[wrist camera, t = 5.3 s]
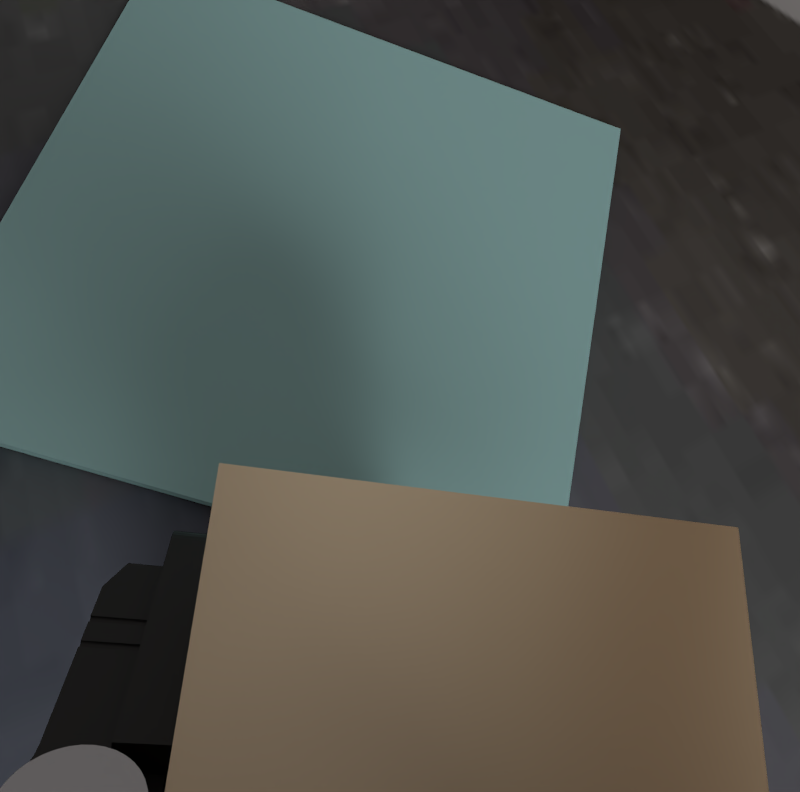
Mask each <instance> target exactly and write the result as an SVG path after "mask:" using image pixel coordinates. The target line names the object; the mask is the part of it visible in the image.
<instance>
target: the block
mask: <svg viewBox="0 0 800 792" xmlns="http://www.w3.org/2000/svg"><path fill="white" fill-rule="evenodd" d="M165 792H769V789H768V781H767V772H766V763H765V755H764V746H763V737H762V729H761V720H760V711H759V703H758V694H757V686H756V677H755V668H754V660H753V651H752V642H751V634H750V625H749V616H748V608H747V599H746V591H745V582H744V573H743V565H742V556H741V547H740V539H739V530H738V528H737V527H729V526H721V525H713V524H705V523H697V522H689V521H681V520H673V519H665V518H657V517H649V516H641V515H633V514H625V513H617V512H609V511H601V510H593V509H585V508H577V507H569V506H561V505H553V504H545V503H537V502H529V501H521V500H513V499H505V498H497V497H489V496H481V495H473V494H465V493H457V492H449V491H441V490H433V489H425V488H417V487H409V486H401V485H393V484H385V483H376V482H368V481H360V480H352V479H344V478H336V477H328V476H320V475H312V474H304V473H296V472H288V471H280V470H272V469H264V468H256V467H248V466H240V465H232V464H224V463H219V467H218V473H217V479H216V485H215V491H214V497H213V503H212V509H211V515H210V521H209V527H208V533H207V539H206V545H205V551H204V557H203V563H202V569H201V575H200V581H199V587H198V593H197V599H196V605H195V611H194V617H193V623H192V629H191V635H190V641H189V647H188V653H187V659H186V666H185V672H184V678H183V684H182V690H181V696H180V702H179V708H178V714H177V720H176V726H175V732H174V738H173V744H172V750H171V756H170V762H169V768H168V774H167V780H166V786H165Z"/></svg>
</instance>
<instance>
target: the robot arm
mask: <svg viewBox="0 0 800 792" xmlns="http://www.w3.org/2000/svg"><path fill="white" fill-rule="evenodd" d="M206 539H207V534H200V533H190V532H180V531H174V532H173V534H172V537H171V541H170V544H169V548H168V551H167V555H166V558H165V561H164V565H163V566H153V565H142V564H131V563H128V564H127V565H126V566H125V567H124V568H122V569H121V570H120V571H119V572H118V573H117V574H116V575H115V576H114V577H112V578H111V579H110V580H109V581H108V582H107V583H106V584H105V585H104V586H102V589H101V591H100V594H99V597H98V599H97V602H96V604H95V607H94V609H93V612H92V614H91V618H90V622H88V624H87V627H86V629H85V632H84V634H83V637H82V639H81V644H80V647H78V649H77V652H76V654H75V657H74V659H73V662H72V664H71V667H70V669H69V672H68V674H67V677H66V679H65V682H64V684H63V687H62V689H61V692H60V694H59V697H58V699H57V702H56V704H55V707H54V709H53V712H52V714H51V717H50V719H49V722H48V724H47V727H46V729H45V732H44V734H43V737H42V739H41V742H40V744H39V746H38V748H37V750H36V752H35V754H34V756H33V757H32V759H31V760H30V762H28V763H27V764H25V765H24V766H23V767H21V768H20V769H18V770H17V771H16V772H15V773H14V774H13V775H12V776H11V777H10V778H9V779H8V780H7V781H6V782H5V783H4V785H3V786H2V787H1V788H0V792H165V786H166V780H167V774H168V768H169V762H170V756H171V750H172V744H173V738H174V732H175V726H176V720H177V714H178V708H179V702H180V696H181V690H182V684H183V678H184V672H185V666H186V659H187V653H188V647H189V641H190V635H191V629H192V623H193V617H194V611H195V605H196V599H197V593H198V587H199V581H200V575H201V569H202V563H203V557H204V551H205V545H206Z"/></svg>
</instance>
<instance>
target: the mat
mask: <svg viewBox="0 0 800 792" xmlns="http://www.w3.org/2000/svg"><path fill="white" fill-rule="evenodd" d="M620 130H621V129H619V128H616V127H614V126H611V125H608V124H606V123H603V122H600V121H598V120H595V119H592V118H590V117H587V116H584V115H582V114H579V113H576V112H574V111H571V110H568V109H566V108H563V107H560V106H558V105H555V104H552V103H549V102H547V101H544V100H541V99H539V98H536V97H533V96H531V95H528V94H525V93H523V92H520V91H517V90H515V89H512V88H509V87H507V86H504V85H501V84H499V83H496V82H493V81H490V80H488V79H485V78H482V77H480V76H477V75H474V74H472V73H469V72H466V71H464V70H461V69H458V68H456V67H453V66H450V65H448V64H445V63H442V62H440V61H437V60H434V59H432V58H429V57H426V56H423V55H421V54H418V53H415V52H413V51H410V50H407V49H405V48H402V47H399V46H397V45H394V44H391V43H389V42H386V41H383V40H381V39H378V38H375V37H373V36H370V35H367V34H364V33H362V32H359V31H356V30H354V29H351V28H348V27H346V26H343V25H340V24H338V23H335V22H332V21H330V20H327V19H324V18H322V17H319V16H316V15H314V14H311V13H308V12H306V11H303V10H300V9H297V8H295V7H292V6H289V5H287V4H284V3H281V2H279V1H276V0H129V1H128V3H127V5H126V7H125V8H124V10H123V12H122V14H121V15H120V17H119V19H118V20H117V22H116V24H115V26H114V27H113V29H112V31H111V33H110V34H109V36H108V38H107V39H106V41H105V43H104V45H103V46H102V48H101V50H100V52H99V53H98V55H97V57H96V58H95V60H94V62H93V64H92V65H91V67H90V69H89V70H88V72H87V74H86V76H85V77H84V79H83V81H82V83H81V84H80V86H79V88H78V89H77V91H76V93H75V95H74V96H73V98H72V100H71V102H70V103H69V105H68V107H67V108H66V110H65V112H64V114H63V115H62V117H61V119H60V120H59V122H58V124H57V126H56V127H55V129H54V131H53V133H52V134H51V136H50V138H49V139H48V141H47V143H46V145H45V146H44V148H43V150H42V152H41V153H40V155H39V157H38V158H37V160H36V162H35V164H34V165H33V167H32V169H31V171H30V172H29V174H28V176H27V177H26V179H25V181H24V183H23V184H22V186H21V188H20V189H19V191H18V193H17V195H16V196H15V198H14V200H13V202H12V203H11V205H10V207H9V208H8V210H7V212H6V214H5V215H4V217H3V219H2V221H1V222H0V447H4V448H7V449H11V450H14V451H18V452H21V453H25V454H28V455H32V456H35V457H39V458H42V459H46V460H49V461H53V462H56V463H60V464H63V465H67V466H70V467H74V468H77V469H81V470H84V471H88V472H91V473H95V474H98V475H102V476H105V477H109V478H112V479H116V480H119V481H123V482H126V483H130V484H133V485H137V486H141V487H144V488H148V489H151V490H155V491H158V492H162V493H165V494H169V495H172V496H176V497H179V498H183V499H186V500H190V501H193V502H197V503H200V504H204V505H207V506H211V507H212V503H213V497H214V491H215V485H216V479H217V473H218V467H219V463H224V464H232V465H240V466H248V467H256V468H264V469H272V470H280V471H288V472H296V473H304V474H312V475H320V476H328V477H336V478H344V479H352V480H360V481H368V482H376V483H385V484H393V485H401V486H409V487H417V488H425V489H433V490H441V491H449V492H457V493H465V494H473V495H481V496H489V497H497V498H505V499H513V500H521V501H529V502H537V503H545V504H553V505H561V506H568V504H569V496H570V489H571V482H572V475H573V468H574V460H575V453H576V446H577V439H578V432H579V424H580V417H581V410H582V403H583V396H584V389H585V381H586V374H587V367H588V360H589V353H590V345H591V338H592V331H593V324H594V317H595V309H596V302H597V295H598V288H599V281H600V273H601V266H602V259H603V252H604V245H605V237H606V230H607V223H608V216H609V209H610V202H611V194H612V187H613V180H614V173H615V166H616V158H617V151H618V144H619V137H620Z"/></svg>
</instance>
